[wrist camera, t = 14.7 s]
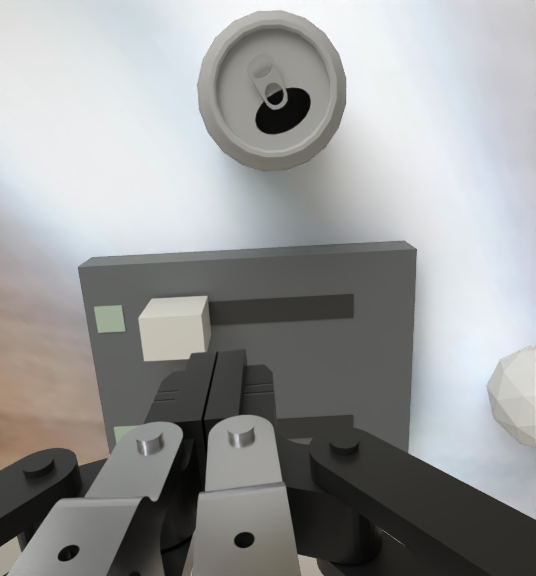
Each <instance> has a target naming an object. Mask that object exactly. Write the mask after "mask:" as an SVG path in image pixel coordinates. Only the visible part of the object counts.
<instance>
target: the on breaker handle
mask: <svg viewBox="0 0 536 576" xmlns="http://www.w3.org/2000/svg"><path fill="white" fill-rule="evenodd" d="M138 320H139V328H140V335H141V342H142V350H143V357H144V361H162V360H180V359H189V358H190V355H191V353H198V352H207V350H208V346H209V342H210V338H211V326H210V315H209V304H208V296H192V297H173V298H154V299H151V300H150V302H149V303H148V305H147V306H146V308H145V309H144V311H143V312H142V313H141V315H140V316H139V318H138Z"/></svg>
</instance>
